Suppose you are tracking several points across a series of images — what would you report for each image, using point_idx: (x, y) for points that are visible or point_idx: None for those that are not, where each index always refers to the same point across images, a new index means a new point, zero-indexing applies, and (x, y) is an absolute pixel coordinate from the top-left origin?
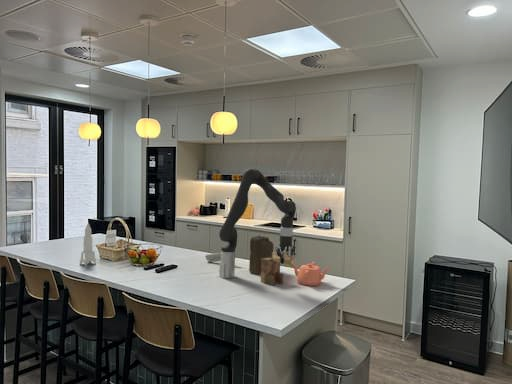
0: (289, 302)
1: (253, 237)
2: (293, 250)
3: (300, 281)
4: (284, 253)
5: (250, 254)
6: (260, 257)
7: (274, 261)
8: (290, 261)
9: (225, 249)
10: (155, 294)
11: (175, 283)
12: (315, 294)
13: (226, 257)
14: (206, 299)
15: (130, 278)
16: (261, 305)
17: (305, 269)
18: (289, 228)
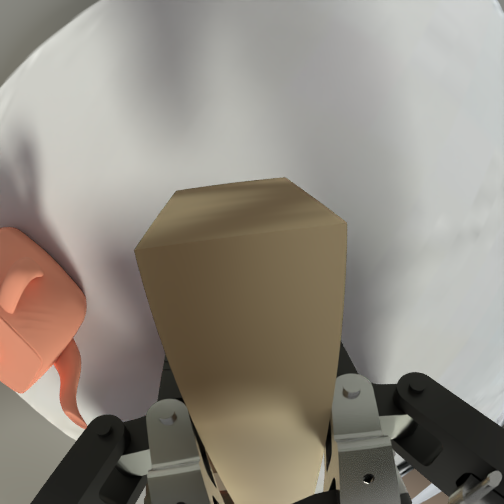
0: (316, 24)
1: None
2: (61, 501)
3: (73, 291)
4: (359, 446)
5: None
6: (226, 500)
7: (210, 459)
8: (262, 200)
9: (410, 500)
10: None
11: (484, 375)
12: (76, 91)
13: (397, 476)
14: None
15: (497, 399)
16: (451, 76)
17: (14, 323)
18: None
